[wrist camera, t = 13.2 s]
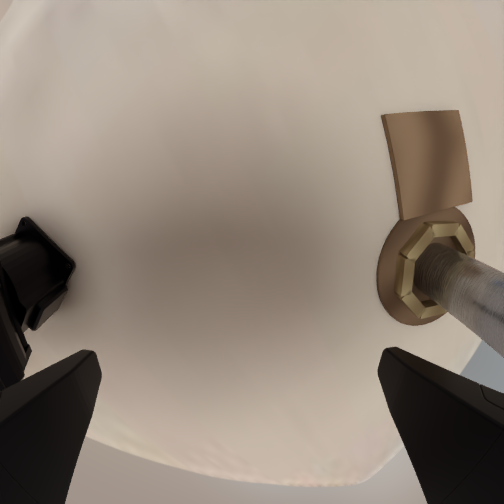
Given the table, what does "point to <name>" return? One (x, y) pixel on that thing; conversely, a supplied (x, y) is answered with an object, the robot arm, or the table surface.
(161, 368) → the table surface
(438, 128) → the stand pad
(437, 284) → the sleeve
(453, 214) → the hub seat
